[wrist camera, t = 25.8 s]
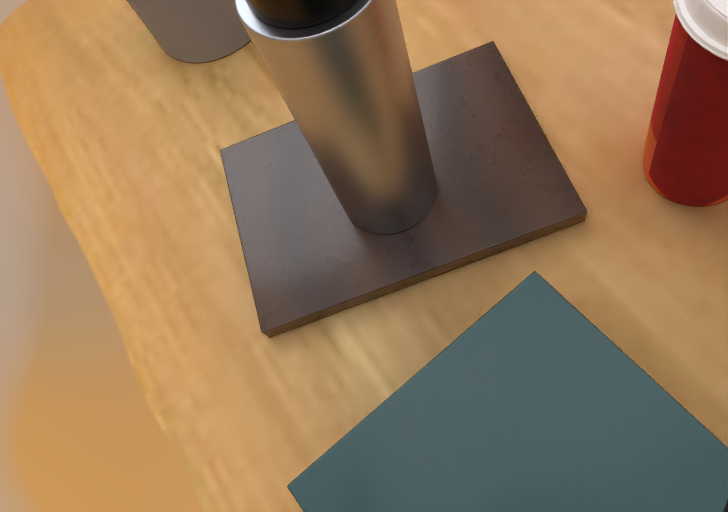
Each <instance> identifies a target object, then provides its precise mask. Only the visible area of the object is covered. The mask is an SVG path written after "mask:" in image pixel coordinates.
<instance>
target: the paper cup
mask: <svg viewBox="0 0 728 512" xmlns="http://www.w3.org/2000/svg"><path fill="white" fill-rule="evenodd" d="M674 8H675V11H676V15H675V20H674V24H673V28H672V32H671V36H670V41H669V45H668V49H667V53H666V57H665V61H664V66H663V70H662V74H661V78H660V82H659V87H658V91H657V95H656V99H655V104H654V108H653V112H652V116H651V121H650V125H649V130H648V134H647V139H646V144H645V149H644V155H643V169H644V173H645V176H646V178H647V180H648V182H649V183H650V184H651V186H652V187H653V188H654V189H655V190H656V191H657V192H658V193H659V194H661V195H662V196H664V197H665V198H667V199H669V200H671V201H673V202H676V203H679V204H683V205H688V206H710V205H714V204H718V203H721V202H723V201H725V200H727V199H728V0H674Z"/></svg>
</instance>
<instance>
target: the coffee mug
mask: <svg viewBox="0 0 728 512" xmlns="http://www.w3.org/2000/svg"><path fill="white" fill-rule="evenodd" d="M127 1H128V2H129V4H130V5H131V7H132V8H133V9H134V11H135V12H136V13H137V15H138V16H139V17H140V19H141V20H142V21H143V23H144V24H145V25H146V27H147V28H148V29H149V31H150V32H151V33H152V35H153V36H154V37H155V39H156V40H157V41H158V43H159V44H160V45H161V47H162V48H163V50H164V51H165V52H166V53H167V54H168V55H170V56H171V57H173V58H175V59H177V60H180V61H184V62H189V63H202V62H208V61H214V60H216V59H219V58H222V57H225V56H227V55H230V54H232V53H233V52H235V51H236V50H238V49H240V48H241V47H243V46H244V45H245V44H246V43H248V42H249V41H250V40H251V38H250V37H249V35H248V33H247V31H246V29H245V27H244V26H243V24H242V22H241V20H240V18H239V16H238V14H237V11H236V7H235V0H127Z"/></svg>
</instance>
